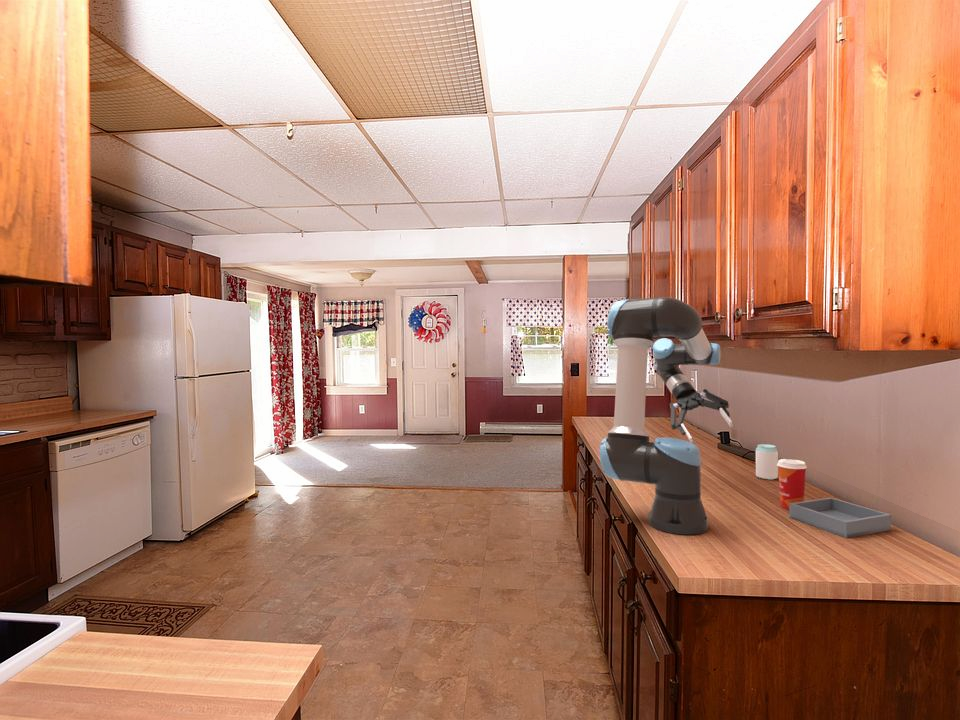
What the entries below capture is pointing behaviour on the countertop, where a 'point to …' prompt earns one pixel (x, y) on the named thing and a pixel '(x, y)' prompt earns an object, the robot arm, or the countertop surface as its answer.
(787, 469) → the paper cup
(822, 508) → the box
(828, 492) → the countertop surface
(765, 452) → the can
